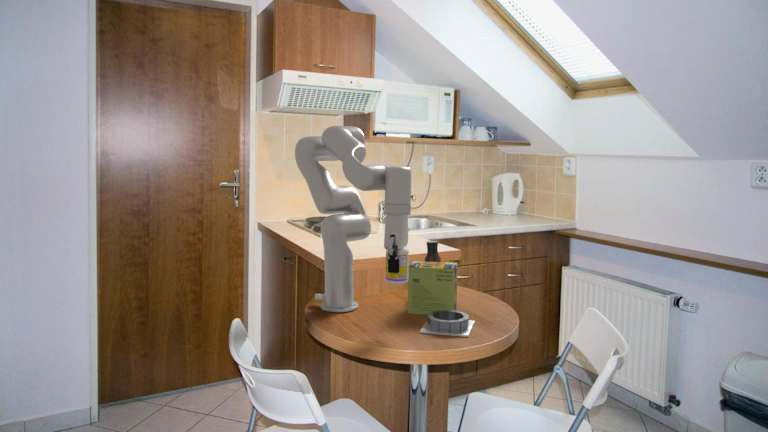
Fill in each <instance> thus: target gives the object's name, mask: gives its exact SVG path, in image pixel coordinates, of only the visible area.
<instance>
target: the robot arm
mask: <svg viewBox="0 0 768 432" xmlns="http://www.w3.org/2000/svg"><path fill="white" fill-rule="evenodd" d="M365 138H366V137H365V134H364V133H363V131H362V130H361V128H359V127H357V126H353V125H352V126H351V125H332V126H331V125H330V126H329V127H327V128H325V129H324V130H323V132H322V134H321V135H318V136H317V135H313V136H312V135H310V136H309V135H308V136H304V137H302V138H300V139H299V140H298V141H297V142H296V144H295V146H294V147H295V148H294V158H295V162H296V165H297V168H298V170H299V171H300V173H301V175H302V176H303V179H304V180H305V182H306V184H307V187H308V189H309V192H310V196H311V197H312V200H313V202H314V205H315V208H316V209H317V211H318V212H319V214H321V215H322V214H323V215H327V216H326V217H325V218H324V219H322V221H321V224H320V234H321V238H322V244H323V254H324V255H323V258H324V259H323V260H324V262H323V263H324V292H323V294H322V293H314V301H318V302H319V301H321V304H320V309H321V310H322V311H325V312H328V313H329V312H330V313H347V312H351V311H354V310H356V309H358V308H359V302H358V301H355V300H354V257H353V256H354V255H353V251H352V250H351V248H350V247H349V245H348V243H349V242H355V241H362V240H365V239H367V238H368V237H369V236H370V235H371V231H372V224H371V220H370V217H369V215H368V213H367V210H366V207H365V205H364V203H363V200H362V197H361V196H360V194H359V191H357V190H356V189H358V190H360V191H363V192H371V191H384V215H385V216H386V217H385V222H384V237H383V238H384V239H383V241H384V242H383V248H384V249H385V250H386V249H388V272H389V273H399V259H398V256H399V250H400V249H402V248H403V247H404V245H405V247H406V248H407V245H408V243H409V217H408V216H411V214H412V213H411V212H412V211H411V210H412V208H411V207H412V202H411V201H412V197H411V196H412V170H411V168H410V167H409V166H394V165H391V164H367V165H366V164H363V161H364V160H365V158H366V154H367V149H366V148H367V147H365V143H366V139H365ZM334 161H335V162H336V161H340V162H341V163H342V165H341V166H342V172H343V176H344V177H345V180H347V181H348V182H349V183H350V184H351V185H352V186H351V185H336V184H335V182H334V181H333V178H332V176H331V174H330V172H329V171H328V170H327V169H326V167H325V166H323V165H322V164H321V163H320V162H334ZM353 186H354V187H353ZM355 188H356V189H355ZM404 241H405V244H404ZM397 245H398V246H397ZM393 247H397V248H393ZM395 251H396V254H395Z"/></svg>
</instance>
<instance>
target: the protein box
mask: <svg viewBox="0 0 768 432" xmlns="http://www.w3.org/2000/svg"><path fill="white" fill-rule="evenodd" d="M457 308H458V263H457V262H453V261H452V262H450V261H444V262H443V261H441V262H425V261H412V262H411V263H410V264H409V265H408V282H407V314H408V315H423V316H424V315H425V316H427V315H428V314H429V313H430V312H433V311H437V310H456V311H457V310H458V309H457Z"/></svg>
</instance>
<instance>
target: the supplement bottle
mask: <svg viewBox="0 0 768 432" xmlns="http://www.w3.org/2000/svg"><path fill="white" fill-rule="evenodd" d="M404 244H405V241H404ZM397 246H398V245H397ZM393 248H397V247H393ZM409 253H410V252H409V248H407V246H406V247H405V245H404V247H403V248H402V249H400V250H399V256H398V259H399V273H389V272H388V249H385V281H386V282H387V283H388V284H391V285H405V284H406V283H407V284H408V267H409V266H410V263H409V255H410V254H409ZM395 254H396V251H395Z"/></svg>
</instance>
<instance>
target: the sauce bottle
mask: <svg viewBox="0 0 768 432" xmlns="http://www.w3.org/2000/svg"><path fill="white" fill-rule="evenodd" d="M438 246H439V242H438V240H427V241H426V248H427V250H426V252H427V253H426V255H425V257H424V262H442V258H441V256H440V254H439V253H438Z"/></svg>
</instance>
